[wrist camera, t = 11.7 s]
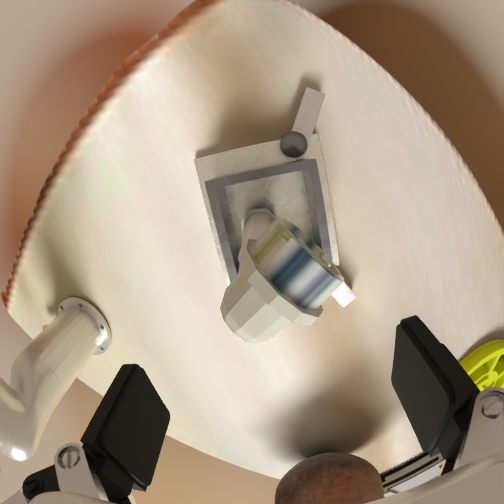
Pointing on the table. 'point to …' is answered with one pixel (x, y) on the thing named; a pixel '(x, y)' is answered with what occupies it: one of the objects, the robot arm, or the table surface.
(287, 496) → the clay pot
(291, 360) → the table surface
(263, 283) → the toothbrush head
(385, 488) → the game console
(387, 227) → the table surface
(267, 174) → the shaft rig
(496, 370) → the pulley
